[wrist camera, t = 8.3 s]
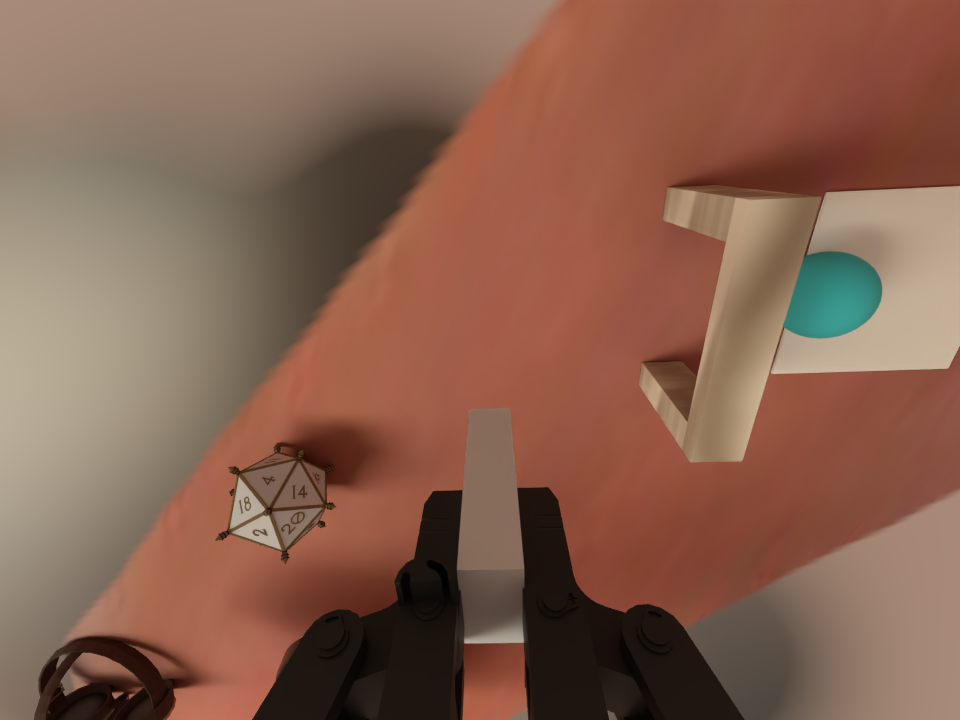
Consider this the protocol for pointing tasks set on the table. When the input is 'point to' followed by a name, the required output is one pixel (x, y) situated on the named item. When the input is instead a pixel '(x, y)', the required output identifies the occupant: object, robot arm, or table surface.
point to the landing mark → (890, 281)
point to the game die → (277, 501)
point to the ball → (833, 295)
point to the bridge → (732, 314)
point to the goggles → (103, 687)
